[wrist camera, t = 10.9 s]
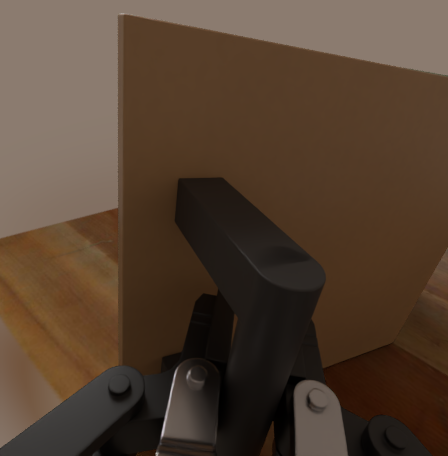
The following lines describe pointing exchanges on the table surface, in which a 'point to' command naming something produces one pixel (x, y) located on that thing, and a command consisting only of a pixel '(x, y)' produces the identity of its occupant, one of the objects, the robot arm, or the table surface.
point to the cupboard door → (271, 204)
